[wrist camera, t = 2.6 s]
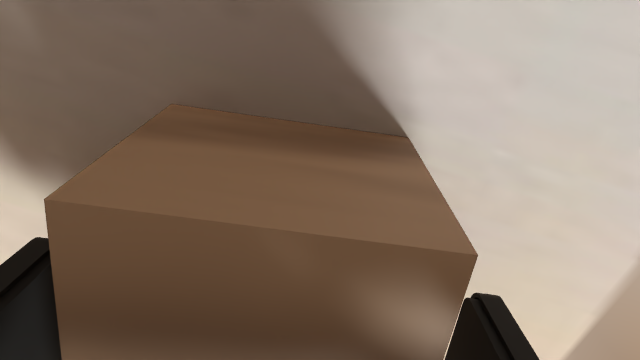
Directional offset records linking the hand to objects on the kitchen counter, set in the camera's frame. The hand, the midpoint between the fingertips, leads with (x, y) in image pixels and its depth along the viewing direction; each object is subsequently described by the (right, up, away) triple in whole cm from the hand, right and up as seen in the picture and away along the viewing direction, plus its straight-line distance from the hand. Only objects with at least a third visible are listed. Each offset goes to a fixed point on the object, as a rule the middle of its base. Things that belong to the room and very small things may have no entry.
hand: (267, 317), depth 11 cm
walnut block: (0, +2, +3) cm, 3 cm away
